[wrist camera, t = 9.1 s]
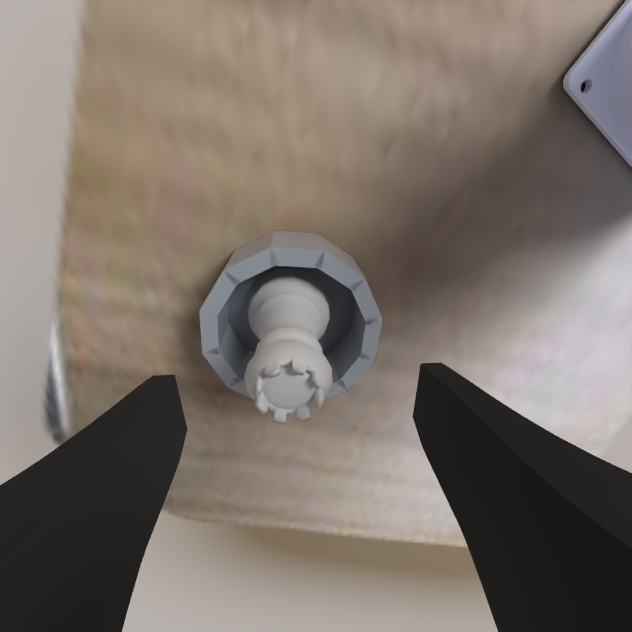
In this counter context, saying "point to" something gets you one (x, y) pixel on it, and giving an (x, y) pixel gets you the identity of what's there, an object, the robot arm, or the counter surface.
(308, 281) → the rook chess piece
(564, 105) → the counter surface
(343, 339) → the grey faceted bowl
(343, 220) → the counter surface
